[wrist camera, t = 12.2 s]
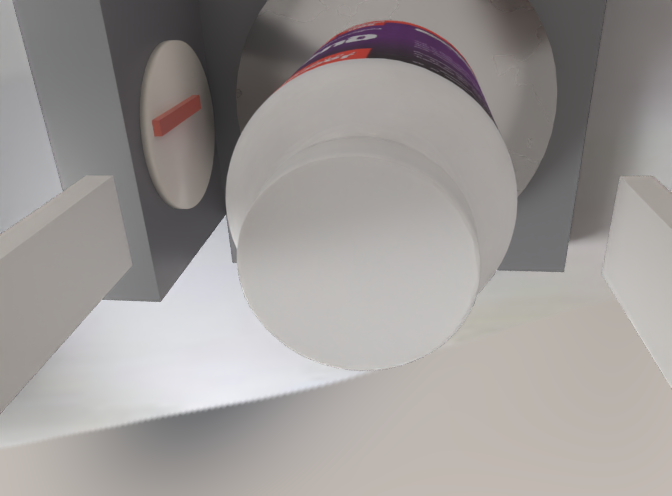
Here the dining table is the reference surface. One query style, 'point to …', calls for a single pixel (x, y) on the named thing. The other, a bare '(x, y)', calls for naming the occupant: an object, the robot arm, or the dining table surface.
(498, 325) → the dining table surface
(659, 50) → the dining table surface
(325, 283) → the pill bottle
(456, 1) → the scale pan
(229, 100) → the dial scale
